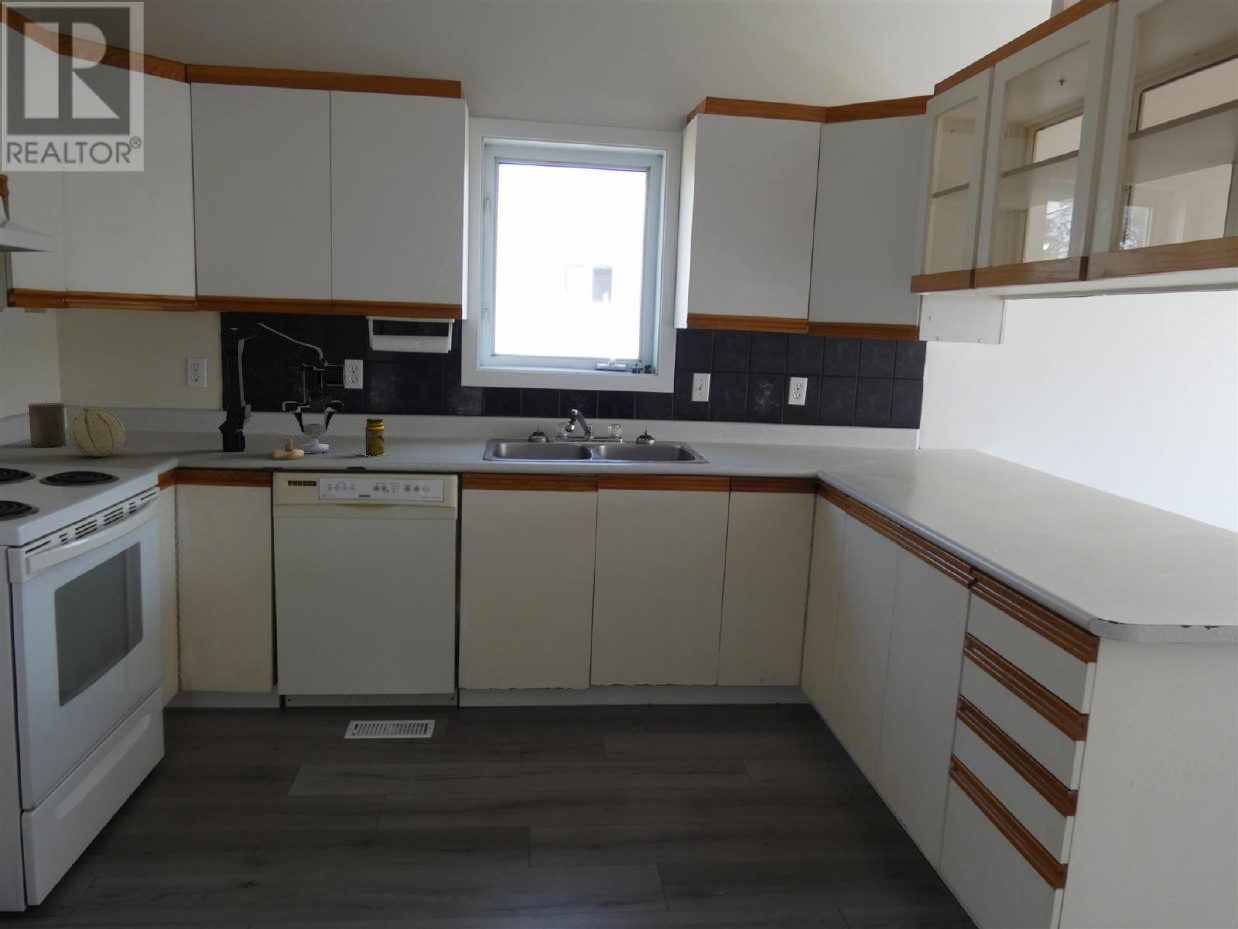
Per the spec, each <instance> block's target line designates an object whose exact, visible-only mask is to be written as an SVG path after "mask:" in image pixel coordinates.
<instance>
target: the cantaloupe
mask: <svg viewBox="0 0 1238 929" xmlns="http://www.w3.org/2000/svg"><path fill="white" fill-rule="evenodd" d="M82 411H84V412H82V413H79V414H78V415H77V416H75V417H74V418H73V419H72V421H71V423H70V425H69V430H68V431H69V432H68V433H69V440H70V442H71V444H72V446H73V447H74V448H75V449H76V450H77V451H78V452H79V453H81V454H83V455H85V456H86V457H87V456H88V457H91V458H93V457H94V458H99V457H100V458H101V457H102V458H105V457H108V456H110V455H111V454H112V453H115V452H116V451H118V450H119V449H121V447H122V446H123V445H124V443H125V441H126V428H125V425H124V423H123V422H122V420H121V419H120V418H119V417H118V416H117V415H116V414H115V413H113V412H111V411H110V410H109V411H108V410H106V409H101V408H100V409H99V408H97V409H96V408H95V409H90V408H89V409H88V408H86V407H85V408H83V409H82Z"/></svg>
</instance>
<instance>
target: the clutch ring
mask: <svg viewBox="0 0 1238 929" xmlns="http://www.w3.org/2000/svg"><path fill="white" fill-rule="evenodd" d="M301 434H302V435H303V436H323V435H326V434H327V431H326V425H325V424H324V423H303V432H301Z"/></svg>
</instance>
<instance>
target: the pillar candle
mask: <svg viewBox="0 0 1238 929" xmlns="http://www.w3.org/2000/svg"><path fill="white" fill-rule="evenodd" d="M27 405H28V417H29V420H28V421H29V433H30V434H29V435H30V445H31V447H33V448H51V447H50V446H57V447H61V446H60V445H64V446H66V445H67V438H66V437H67V436H66V424H65V423H66V422H65V409H64V408H65V406H64V403H62V402H47V399H45V402H37V403H36V402H35V403H28V404H27Z"/></svg>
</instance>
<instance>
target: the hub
mask: <svg viewBox="0 0 1238 929" xmlns="http://www.w3.org/2000/svg"><path fill="white" fill-rule="evenodd" d="M329 446H330V445H329V444H327V443H319V435H310V443H305V444H300V445H299V450H303V451H304V452H310V453H317V454H322V453H321V452H326V453H329V452H330V447H329ZM310 453H309V454H310Z"/></svg>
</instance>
